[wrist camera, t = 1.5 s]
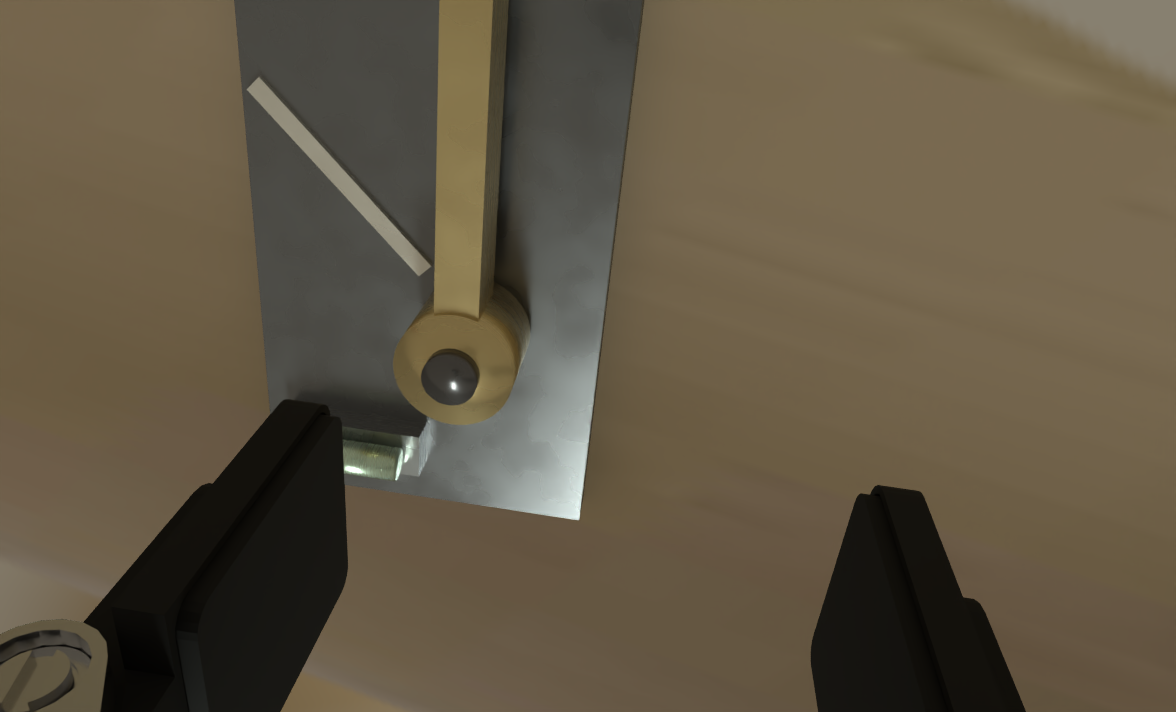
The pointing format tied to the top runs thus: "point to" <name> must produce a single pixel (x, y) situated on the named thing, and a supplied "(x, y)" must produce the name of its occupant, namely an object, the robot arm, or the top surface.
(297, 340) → the flat grey rectangular plate
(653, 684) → the top surface
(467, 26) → the lever with round hub
